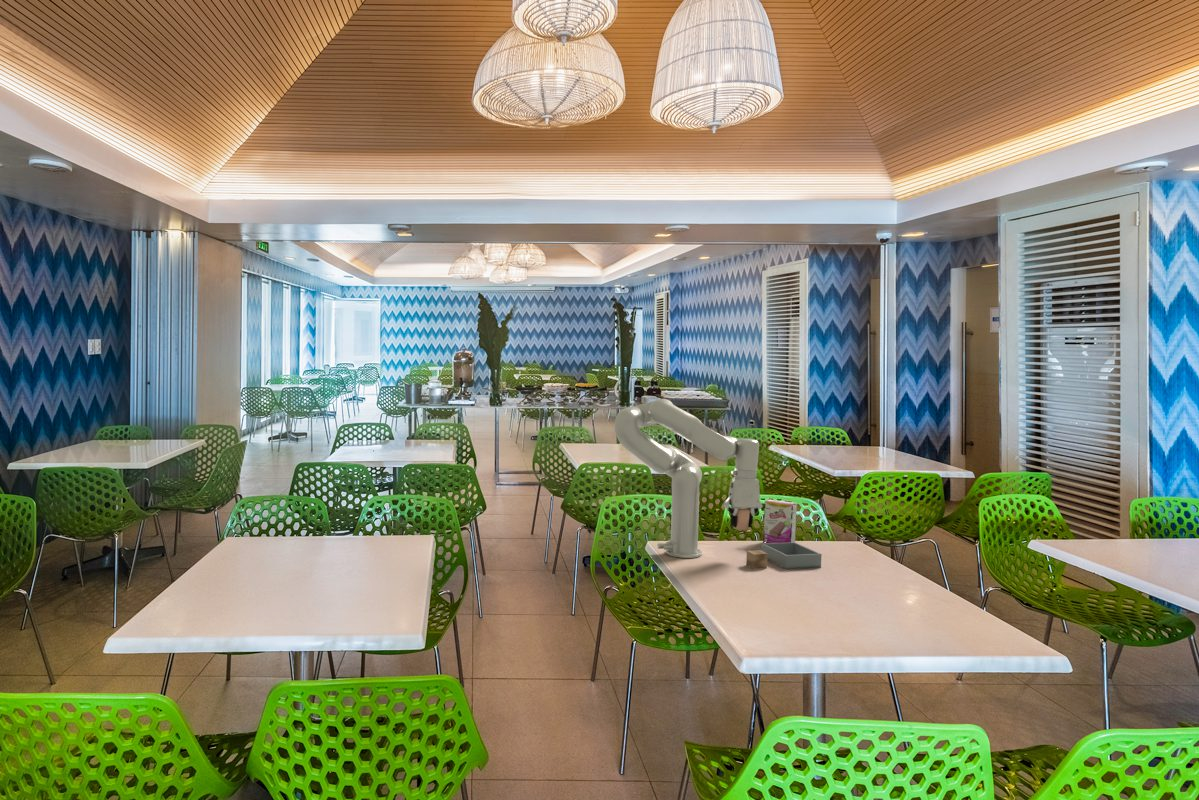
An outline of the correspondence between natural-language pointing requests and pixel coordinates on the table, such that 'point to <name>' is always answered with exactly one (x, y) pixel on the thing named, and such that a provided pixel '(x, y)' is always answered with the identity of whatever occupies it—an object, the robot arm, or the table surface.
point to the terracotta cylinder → (742, 519)
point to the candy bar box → (779, 521)
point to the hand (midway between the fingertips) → (741, 525)
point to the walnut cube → (756, 559)
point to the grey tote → (791, 555)
